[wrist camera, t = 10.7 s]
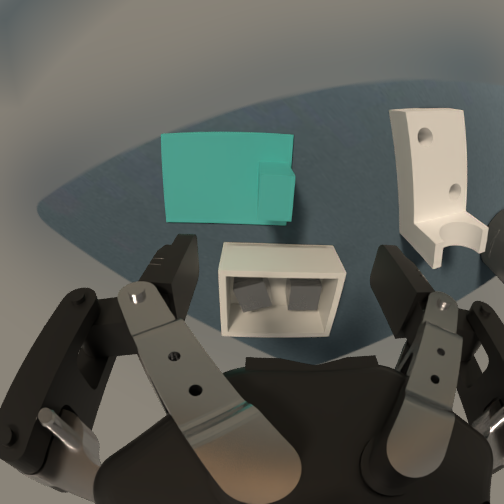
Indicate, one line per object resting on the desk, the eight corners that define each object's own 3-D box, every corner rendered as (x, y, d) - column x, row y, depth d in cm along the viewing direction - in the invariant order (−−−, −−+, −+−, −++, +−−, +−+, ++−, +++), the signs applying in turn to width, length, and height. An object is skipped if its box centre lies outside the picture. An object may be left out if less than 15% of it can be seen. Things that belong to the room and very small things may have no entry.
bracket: (446, 219, 26) (484, 251, 19) (398, 231, 27) (432, 269, 20) (442, 107, 19) (491, 115, 13) (387, 109, 20) (432, 115, 14)
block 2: (316, 269, 28) (322, 286, 25) (312, 292, 29) (316, 310, 27) (287, 268, 28) (291, 286, 25) (285, 291, 29) (287, 310, 27)
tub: (332, 245, 27) (346, 272, 23) (320, 305, 31) (328, 336, 27) (224, 242, 27) (218, 270, 23) (225, 304, 31) (221, 335, 27)
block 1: (262, 264, 28) (263, 281, 25) (270, 287, 29) (272, 305, 26) (234, 272, 28) (232, 289, 25) (244, 294, 30) (243, 312, 27)
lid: (292, 134, 22) (303, 141, 17) (285, 223, 26) (292, 251, 22) (163, 133, 22) (139, 141, 17) (168, 219, 26) (149, 246, 22)
